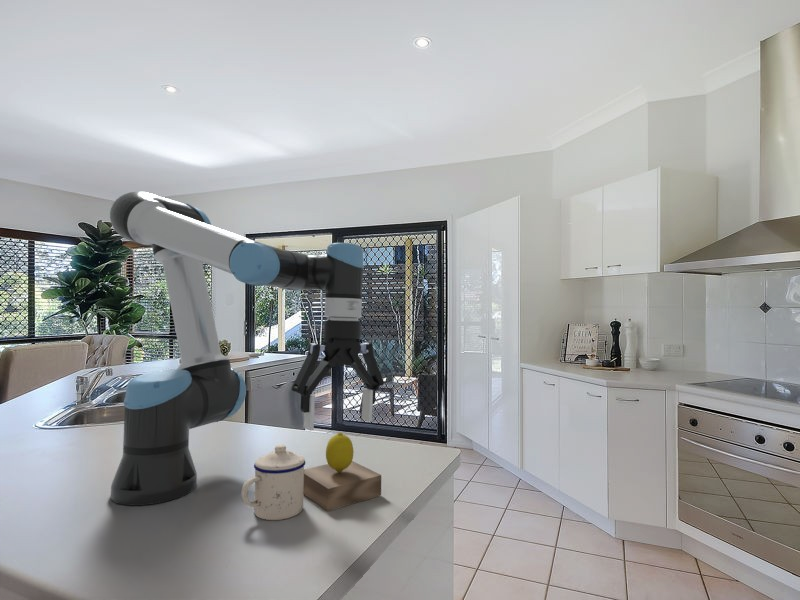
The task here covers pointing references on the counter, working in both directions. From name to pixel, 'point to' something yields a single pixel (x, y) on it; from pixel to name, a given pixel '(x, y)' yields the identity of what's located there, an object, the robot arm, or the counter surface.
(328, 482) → the walnut plinth
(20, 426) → the counter surface
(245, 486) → the teacup with lid
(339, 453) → the lemon
